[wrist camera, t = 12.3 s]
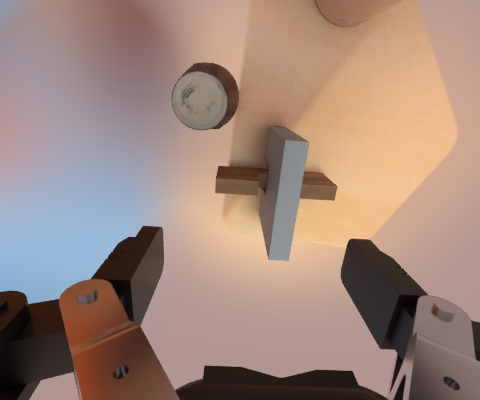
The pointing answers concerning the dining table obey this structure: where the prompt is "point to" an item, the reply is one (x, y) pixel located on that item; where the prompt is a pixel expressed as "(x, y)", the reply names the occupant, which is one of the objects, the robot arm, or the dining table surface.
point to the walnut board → (251, 179)
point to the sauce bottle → (205, 97)
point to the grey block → (282, 190)
